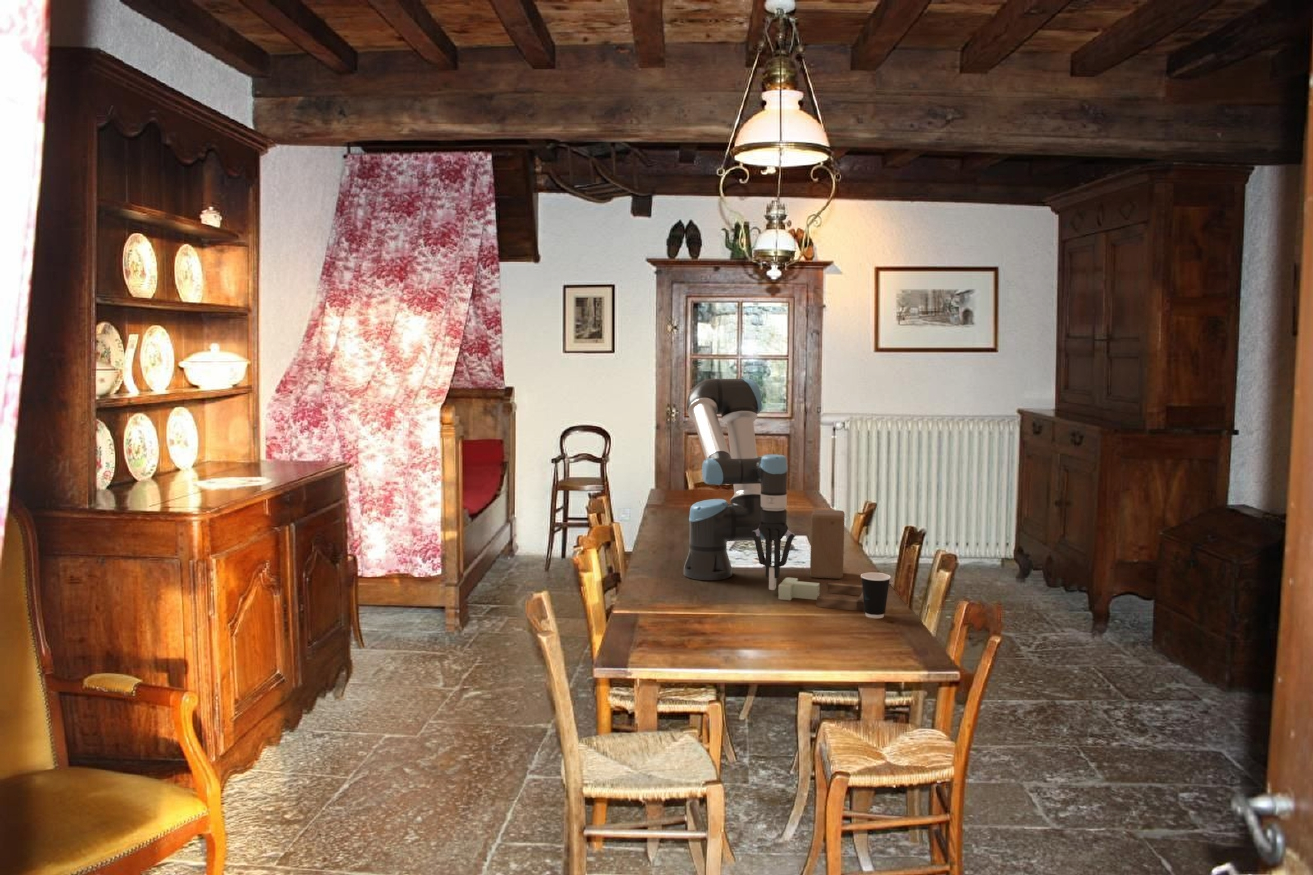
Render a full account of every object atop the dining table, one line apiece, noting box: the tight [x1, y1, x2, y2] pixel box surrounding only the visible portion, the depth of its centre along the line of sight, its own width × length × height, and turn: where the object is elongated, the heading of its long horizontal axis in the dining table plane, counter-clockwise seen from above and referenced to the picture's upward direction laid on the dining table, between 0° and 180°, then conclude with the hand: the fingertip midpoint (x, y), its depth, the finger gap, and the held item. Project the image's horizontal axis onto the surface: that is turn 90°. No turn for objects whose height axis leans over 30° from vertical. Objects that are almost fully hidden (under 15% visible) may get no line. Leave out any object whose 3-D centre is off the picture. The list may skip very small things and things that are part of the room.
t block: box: [777, 577, 821, 601], centre depth 288 cm, size 10×10×4 cm
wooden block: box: [809, 509, 846, 580], centre depth 312 cm, size 10×10×20 cm
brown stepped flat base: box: [816, 582, 865, 612], centre depth 283 cm, size 13×18×2 cm
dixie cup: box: [860, 572, 891, 619], centre depth 268 cm, size 8×8×11 cm
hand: (772, 588), depth 290 cm, fingers closed
